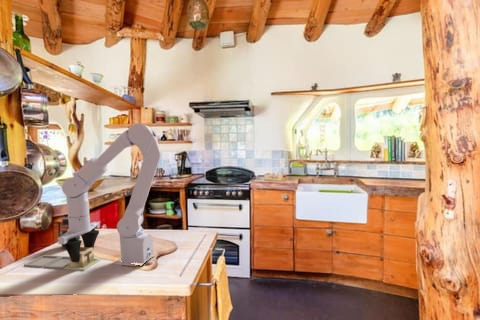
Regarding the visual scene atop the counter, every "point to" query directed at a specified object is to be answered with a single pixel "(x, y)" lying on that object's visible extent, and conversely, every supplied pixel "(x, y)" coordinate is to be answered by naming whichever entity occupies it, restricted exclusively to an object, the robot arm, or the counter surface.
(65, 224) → the supplement bottle
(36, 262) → the far dish
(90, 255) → the letter block
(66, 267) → the green dish
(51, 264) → the middle dish
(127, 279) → the counter surface
